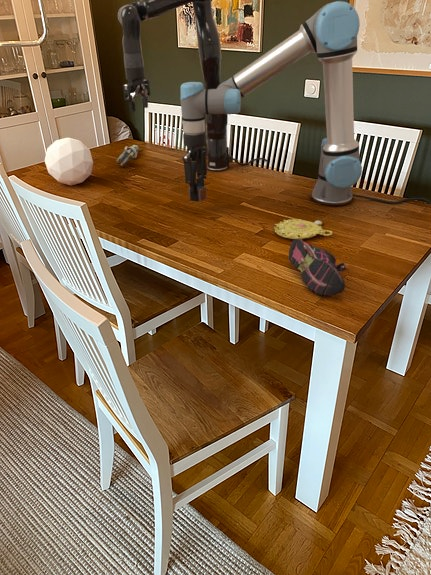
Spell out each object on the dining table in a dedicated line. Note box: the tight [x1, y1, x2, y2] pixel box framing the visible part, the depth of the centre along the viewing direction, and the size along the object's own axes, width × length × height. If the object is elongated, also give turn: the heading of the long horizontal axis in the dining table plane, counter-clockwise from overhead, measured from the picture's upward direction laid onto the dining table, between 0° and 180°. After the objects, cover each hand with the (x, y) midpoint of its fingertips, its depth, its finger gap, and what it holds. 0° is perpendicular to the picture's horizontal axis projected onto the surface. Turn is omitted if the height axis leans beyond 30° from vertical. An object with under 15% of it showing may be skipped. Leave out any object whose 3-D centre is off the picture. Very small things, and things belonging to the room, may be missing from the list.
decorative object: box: [273, 218, 333, 241], centre depth 145 cm, size 21×2×20 cm
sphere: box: [44, 137, 94, 187], centre depth 189 cm, size 19×20×20 cm
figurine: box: [115, 144, 140, 167], centre depth 221 cm, size 7×8×30 cm
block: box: [188, 185, 207, 203], centre depth 161 cm, size 4×5×4 cm
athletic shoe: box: [288, 239, 349, 296], centre depth 119 cm, size 11×22×12 cm
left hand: (139, 109), depth 181 cm, fingers open, 8 cm apart
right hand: (197, 198), depth 162 cm, fingers closed on block, 4 cm apart
